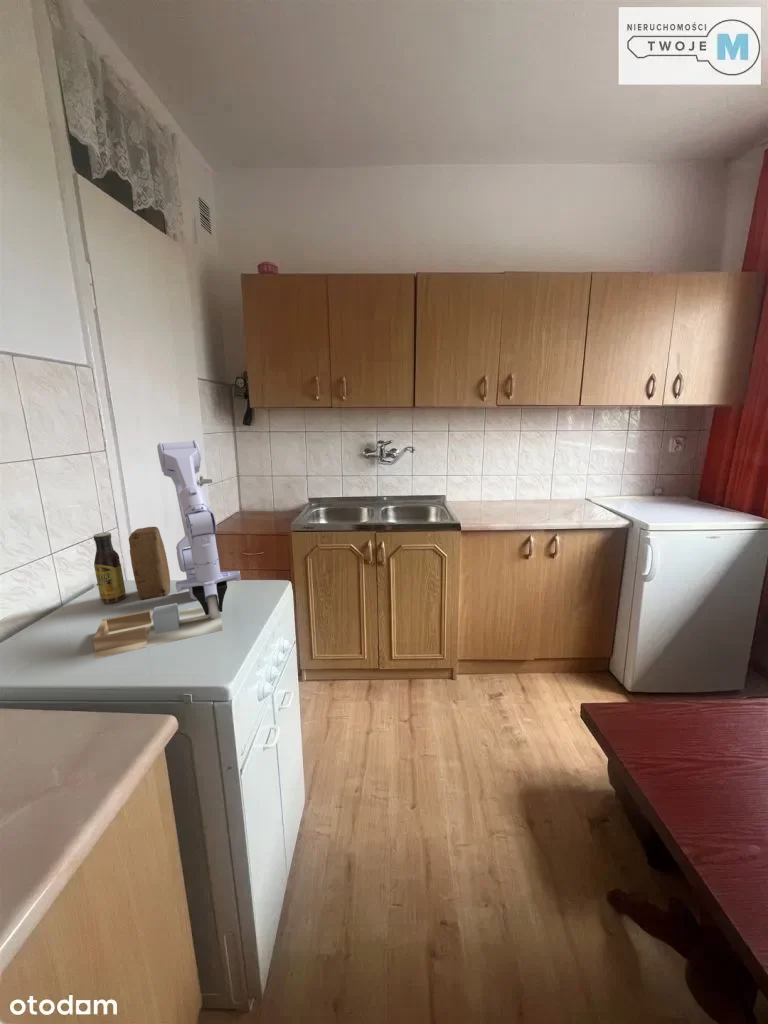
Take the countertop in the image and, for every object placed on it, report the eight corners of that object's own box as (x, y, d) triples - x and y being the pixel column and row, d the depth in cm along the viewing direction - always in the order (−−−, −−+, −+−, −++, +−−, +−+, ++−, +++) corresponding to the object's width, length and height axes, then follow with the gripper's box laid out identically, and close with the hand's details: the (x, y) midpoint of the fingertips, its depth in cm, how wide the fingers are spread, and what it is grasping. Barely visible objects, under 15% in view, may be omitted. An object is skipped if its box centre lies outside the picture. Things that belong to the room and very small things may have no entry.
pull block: (157, 624, 103) (153, 603, 102) (219, 611, 108) (216, 591, 107) (155, 633, 99) (151, 612, 97) (220, 620, 104) (217, 599, 102)
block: (166, 600, 119) (153, 533, 114) (137, 604, 118) (123, 536, 113) (174, 585, 129) (163, 522, 124) (148, 589, 128) (135, 525, 123)
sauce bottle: (96, 603, 119) (80, 536, 114) (115, 594, 125) (101, 530, 120) (114, 605, 117) (98, 538, 113) (132, 596, 123) (119, 531, 118)
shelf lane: (108, 630, 104) (105, 613, 103) (220, 607, 114) (218, 592, 112) (93, 665, 90) (89, 646, 89) (223, 635, 99) (220, 618, 98)
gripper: (171, 571, 95) (181, 625, 99) (238, 560, 101) (245, 612, 104) (173, 561, 102) (182, 612, 105) (236, 551, 107) (243, 600, 110)
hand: (213, 611), depth 105 cm, fingers closed on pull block, 3 cm apart
